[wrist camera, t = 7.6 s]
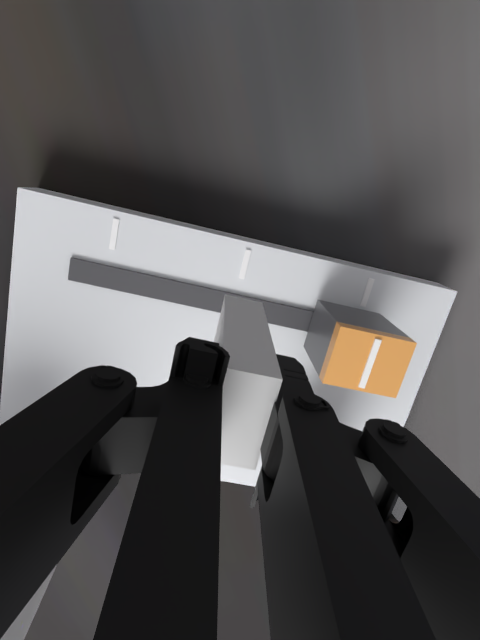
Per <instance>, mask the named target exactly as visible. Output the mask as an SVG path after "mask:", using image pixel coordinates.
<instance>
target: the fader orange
mask: <svg viewBox="0 0 480 640" xmlns="http://www.w3.org/2000/svg"><path fill="white" fill-rule="evenodd" d="M416 345H417V343H416V342H415V341H414V340H412V339H411V338H410V337H409V336H407V335H406V334H405V333H404V332H402V331H401V330H400V329H399V328H397V327H396V326H395V325H394V324H392V323H391V322H390V321H388V320H387V319H386V318H385V317H383V316H382V315H381V314H380V313H376V312H371V311H367V310H362V309H358V308H353V307H349V306H345V305H340V304H336V303H331V302H327V301H322V300H318V299H317V303H316V306H315V309H314V313H313V316H312V319H311V323H310V326H309V329H308V333H307V336H306V339H305V343H304V346H303V347H304V349H305V350H306V352H307V354H308V356H309V358H310V360H311V362H312V364H313V366H314V368H315V370H316V372H317V374H318V376H319V378H320V380H321V382H322V383H323V384H328V385H333V386H338V387H343V388H348V389H353V390H358V391H363V392H367V393H372V394H377V395H382V396H387V397H392V398H396V397H397V394H398V392H399V389H400V387H401V384H402V381H403V379H404V376H405V373H406V371H407V368H408V366H409V363H410V360H411V358H412V355H413V353H414V350H415V347H416Z"/></svg>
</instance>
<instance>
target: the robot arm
mask: <svg viewBox="0 0 480 640" xmlns="http://www.w3.org/2000/svg"><path fill="white" fill-rule="evenodd" d="M308 380H309V379H308V377H307V375H306V372H305V369H304V367H303V365H302V364H301V363H300V362H299V361H297V360H296V359H295V358H293V357H288V356H284V355H279V354H276V352H275V348H274V345H273V341H272V337H271V333H270V330H269V326H268V322H267V318H266V315H265V311H264V307H263V303H262V302H257V301H253V300H249V299H244V298H240V297H235V296H231V295H226V294H225V296H224V301H223V305H222V309H221V314H220V318H219V322H218V326H217V331H216V335H215V339H214V342H212V341H207V340H202V339H197V338H193V337H188V338H186V339H185V340H183V341H180V342H179V343H178V344H177V345H176V347H175V352H174V357H173V362H172V367H171V371H170V376H169V380H168V381H167V382H166V383H164V384H161V385H158V386H153V387H137V381H136V378H135V377H134V376H133V375H132V374H131V373H130V372H127V371H125V370H123V369H121V368H116V367H114V366H108V365H107V366H106V365H100V366H95V367H88V368H86V369H84V370H81V371H80V372H78V373H77V374H75V375H74V376H72V377H71V378H69V379H68V380H66V381H65V382H63V383H62V384H60V385H59V386H57V387H56V388H54V389H53V390H52V391H50V392H49V393H47V394H46V395H44V396H43V397H41V398H40V399H38V400H37V401H35V402H34V403H32V404H31V405H29V406H28V407H26V408H25V409H23V410H22V411H20V412H19V413H18V414H16V415H15V416H13V417H12V418H10V419H9V420H7V421H6V422H4V423H3V424H1V425H0V639H1V638H2V636H3V635H4V634H5V632H6V631H7V630H8V628H9V627H10V626H11V624H12V623H13V622H14V620H15V619H16V618H17V617H18V615H19V614H20V613H21V611H22V610H23V609H24V607H25V606H26V605H27V603H28V602H29V601H30V599H31V598H32V597H33V595H34V594H35V593H36V591H37V590H38V589H39V587H40V586H41V585H42V583H43V582H44V581H45V579H46V578H47V577H48V575H49V574H50V573H51V571H52V570H53V569H54V567H55V566H56V565H57V564H58V562H59V561H60V560H61V558H62V557H63V556H64V554H65V553H66V552H67V550H68V549H69V548H70V546H71V545H72V544H73V542H74V541H75V540H76V538H77V537H78V536H79V534H80V533H81V532H82V530H83V529H84V528H85V526H86V525H87V524H88V522H89V521H90V520H91V518H92V517H93V516H94V514H95V513H96V512H97V511H98V509H99V508H100V507H101V505H102V504H103V503H104V501H105V500H106V499H107V497H108V496H109V495H110V493H111V492H112V491H113V489H114V488H115V487H116V485H117V484H118V482H119V479H120V477H121V474H131V473H141V476H140V480H139V483H138V487H137V490H136V494H135V497H134V500H133V504H132V507H131V511H130V514H129V518H128V521H127V525H126V528H125V531H124V535H123V538H122V542H121V545H120V549H119V552H118V556H117V559H116V563H115V566H114V569H113V573H112V576H111V580H110V583H109V587H108V590H107V594H106V597H105V600H104V604H103V607H102V611H101V614H100V618H99V621H98V625H97V628H96V632H95V635H94V638H93V640H217V610H218V566H219V523H220V480H221V464H223V465H229V466H234V467H240V468H245V469H251V470H256V467H257V464H258V460H259V457H260V454H261V460H262V466H261V470H260V473H259V476H258V479H257V483H256V486H255V489H254V493H253V496H252V499H251V503H250V507H251V508H254V506H255V503H256V501H257V500H259V512H260V523H261V534H262V546H263V557H264V568H265V580H266V591H267V602H268V614H269V625H270V636H271V640H480V498H479V497H477V496H476V495H475V494H474V493H473V492H472V491H471V490H470V489H469V488H468V487H467V486H466V485H465V484H464V483H463V482H462V481H461V480H460V479H459V478H458V477H457V476H456V475H455V474H454V473H453V472H452V471H451V470H450V469H449V468H448V467H447V466H446V465H445V464H444V463H443V462H442V461H441V460H440V459H439V458H438V457H437V456H435V455H434V454H433V453H432V452H431V451H430V450H429V449H428V448H427V447H426V446H425V445H424V444H423V443H422V442H421V441H420V440H419V439H418V438H417V437H416V436H415V435H414V434H412V433H411V432H410V431H409V430H407V429H406V428H404V427H402V426H400V424H398V423H396V422H394V421H393V422H392V421H391V420H388V419H385V420H384V419H379V418H375V419H369V420H368V421H366V423H365V425H364V428H363V431H360V430H357V429H355V428H352V427H349V426H347V425H344V424H342V423H340V422H339V420H338V418H337V416H336V414H335V411H334V409H333V408H332V406H331V405H330V404H329V403H328V402H327V401H326V400H324V399H323V398H321V397H319V396H317V395H315V394H314V392H313V390H312V387H311V384H310V382H309V381H308ZM398 497H400V498H401V499H402V500H403V502H404V503H405V504H406V505H407V509H406V511H405V513H404V515H403V518H402V520H401V521H400V522H399V521H398V520H396V518H395V517H394V516H393V514H392V511H393V508H394V506H395V504H396V502H397V499H398Z"/></svg>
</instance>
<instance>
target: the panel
mask: <svg viewBox="0 0 480 640" xmlns="http://www.w3.org/2000/svg"><path fill="white" fill-rule="evenodd" d="M225 294H226V295H231V296H235V297H240V298H244V299H249V300H253V301H257V302H262V303H263V307H264V311H265V315H266V318H267V322H268V326H269V330H270V333H271V337H272V341H273V345H274V348H275V352H276V354H279V355H284V356H288V357H293V358H295V359H296V360H297V361H299V362H300V363H301V364H302V365H303V367H304V369H305V372H306V375H307V377H308V379H309V380H308V381H309V382H310V384H311V387H312V390H313V392H314V394H315V395H317V396H319V397H321V398H323V399H324V400H326V401H327V402H328V403H329V404H330V405H331V406H332V408H333V409H334V411H335V414H336V416H337V418H338V420H339V422H340V423H342V424H344V425H347V426H349V427H352V428H355V429H357V430H360V431H363V428H364V425H365V423H366V421H368V420H369V419H375V418H379V419H384V420H385V419H388V420H391V421H392V422H393V421H394V422H396V423H398V424H400V426H402V427H404V425H405V422H406V420H407V417H408V415H409V412H410V410H411V407H412V405H413V402H414V400H415V397H416V394H417V392H418V389H419V387H420V384H421V382H422V379H423V377H424V374H425V372H426V369H427V367H428V364H429V362H430V359H431V357H432V354H433V352H434V349H435V347H436V344H437V342H438V339H439V337H440V334H441V332H442V329H443V327H444V324H445V322H446V319H447V317H448V314H449V311H450V309H451V306H452V304H453V301H454V299H455V296H456V294H457V291H455V290H453V289H451V288H448V287H446V286H444V285H442V284H439V283H437V282H433V281H429V280H425V279H420V278H416V277H412V276H408V275H404V274H399V273H395V272H391V271H387V270H383V269H378V268H374V267H370V266H366V265H362V264H357V263H353V262H349V261H345V260H341V259H336V258H332V257H328V256H324V255H319V254H315V253H311V252H307V251H303V250H298V249H294V248H290V247H286V246H282V245H277V244H273V243H269V242H265V241H261V240H256V239H252V238H248V237H244V236H240V235H235V234H231V233H227V232H223V231H218V230H214V229H210V228H206V227H202V226H197V225H193V224H189V223H185V222H181V221H176V220H172V219H168V218H164V217H160V216H155V215H151V214H147V213H143V212H139V211H134V210H130V209H126V208H122V207H118V206H113V205H109V204H105V203H101V202H96V201H92V200H88V199H84V198H80V197H75V196H71V195H67V194H63V193H59V192H54V191H50V190H46V189H42V188H29V187H18V190H17V203H16V215H15V228H14V240H13V252H12V265H11V277H10V290H9V302H8V315H7V327H6V340H5V352H4V365H3V377H2V390H1V402H0V425H1V424H3V423H4V422H6V421H7V420H9V419H10V418H12V417H13V416H15V415H16V414H18V413H19V412H20V411H22V410H23V409H25V408H26V407H28V406H29V405H31V404H32V403H34V402H35V401H37V400H38V399H40V398H41V397H43V396H44V395H46V394H47V393H49V392H50V391H52V390H53V389H54V388H56V387H57V386H59V385H60V384H62V383H63V382H65V381H66V380H68V379H69V378H71V377H72V376H74V375H75V374H77V373H78V372H80V371H81V370H84V369H86V368H88V367H95V366H100V365H106V366H107V365H108V366H114V367H116V368H121V369H123V370H125V371H127V372H130V373H131V374H132V375H133V376H134V377H135V378H136V381H137V387H153V386H158V385H161V384H164V383H166V382H167V381H168V380H169V376H170V371H171V367H172V362H173V357H174V352H175V347H176V345H177V344H178V343H179V342H180V341H183V340H185V339H186V338H188V337H193V338H197V339H202V340H207V341H212V342H214V339H215V335H216V331H217V326H218V322H219V318H220V314H221V309H222V305H223V301H224V296H225ZM317 299H318V300H322V301H327V302H331V303H336V304H340V305H345V306H349V307H353V308H358V309H362V310H367V311H371V312H376V313H380V314H381V315H382V316H383V317H385V318H386V319H387V320H388V321H390V322H391V323H392V324H394V325H395V326H396V327H397V328H399V329H400V330H401V331H402V332H404V333H405V334H406V335H407V336H409V337H410V338H411V339H412V340H414V341H415V342H416V343H417V345H416V347H415V350H414V353H413V355H412V358H411V360H410V363H409V366H408V368H407V371H406V373H405V376H404V379H403V381H402V384H401V387H400V389H399V392H398V394H397V397H396V398H392V397H387V396H382V395H377V394H372V393H367V392H363V391H358V390H353V389H348V388H343V387H338V386H333V385H328V384H323V383H322V382H321V380H320V378H319V376H318V374H317V372H316V370H315V368H314V366H313V364H312V362H311V360H310V358H309V356H308V354H307V352H306V350H305V349H304V347H303V346H304V343H305V339H306V336H307V333H308V329H309V326H310V323H311V319H312V316H313V313H314V309H315V306H316V303H317ZM261 466H262V460H261V454H260V457H259V460H258V464H257V467H256V470H251V469H245V468H240V467H234V466H229V465H223V464H221V480H220V481H226V482H232V483H238V484H243V485H249V486H256V483H257V479H258V476H259V473H260V470H261Z"/></svg>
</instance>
